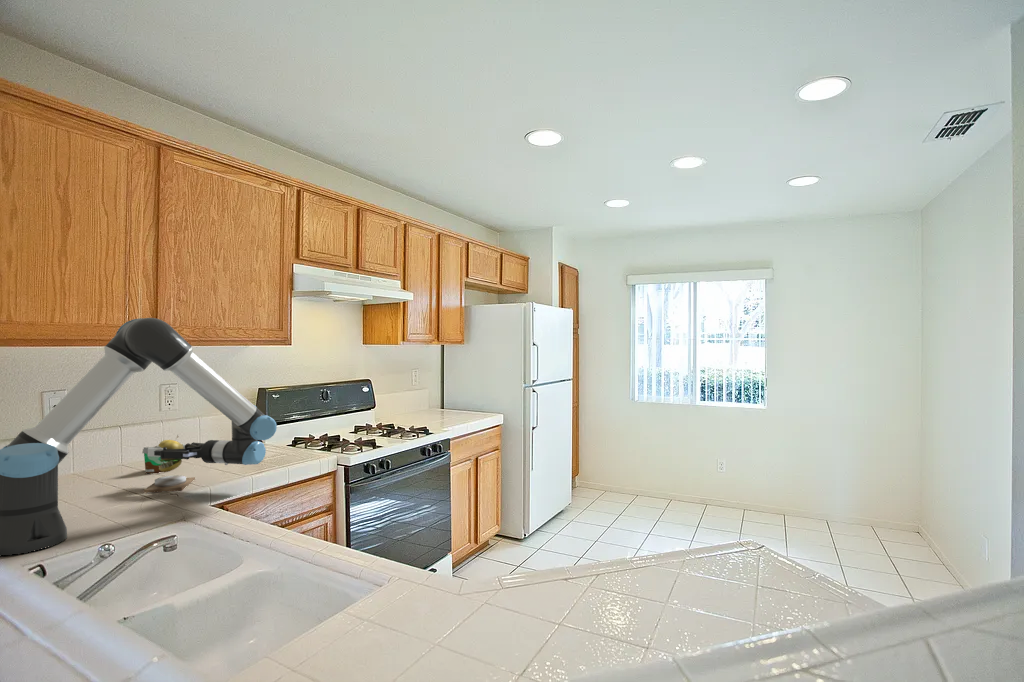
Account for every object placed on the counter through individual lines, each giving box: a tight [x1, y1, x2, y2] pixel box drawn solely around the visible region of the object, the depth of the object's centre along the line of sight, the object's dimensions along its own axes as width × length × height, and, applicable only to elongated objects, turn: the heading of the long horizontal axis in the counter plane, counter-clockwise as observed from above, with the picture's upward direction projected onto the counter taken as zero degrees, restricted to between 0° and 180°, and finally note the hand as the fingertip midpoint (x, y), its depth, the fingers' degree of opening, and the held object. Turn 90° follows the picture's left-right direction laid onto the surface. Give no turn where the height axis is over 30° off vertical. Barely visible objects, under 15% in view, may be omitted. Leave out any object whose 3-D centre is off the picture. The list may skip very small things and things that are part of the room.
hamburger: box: [157, 434, 184, 473], centre depth 182 cm, size 8×7×12 cm
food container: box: [142, 445, 171, 474], centre depth 203 cm, size 12×6×10 cm, turn 168°
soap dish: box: [143, 474, 196, 493], centre depth 182 cm, size 11×14×3 cm
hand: (158, 449), depth 183 cm, fingers closed on hamburger, 7 cm apart
